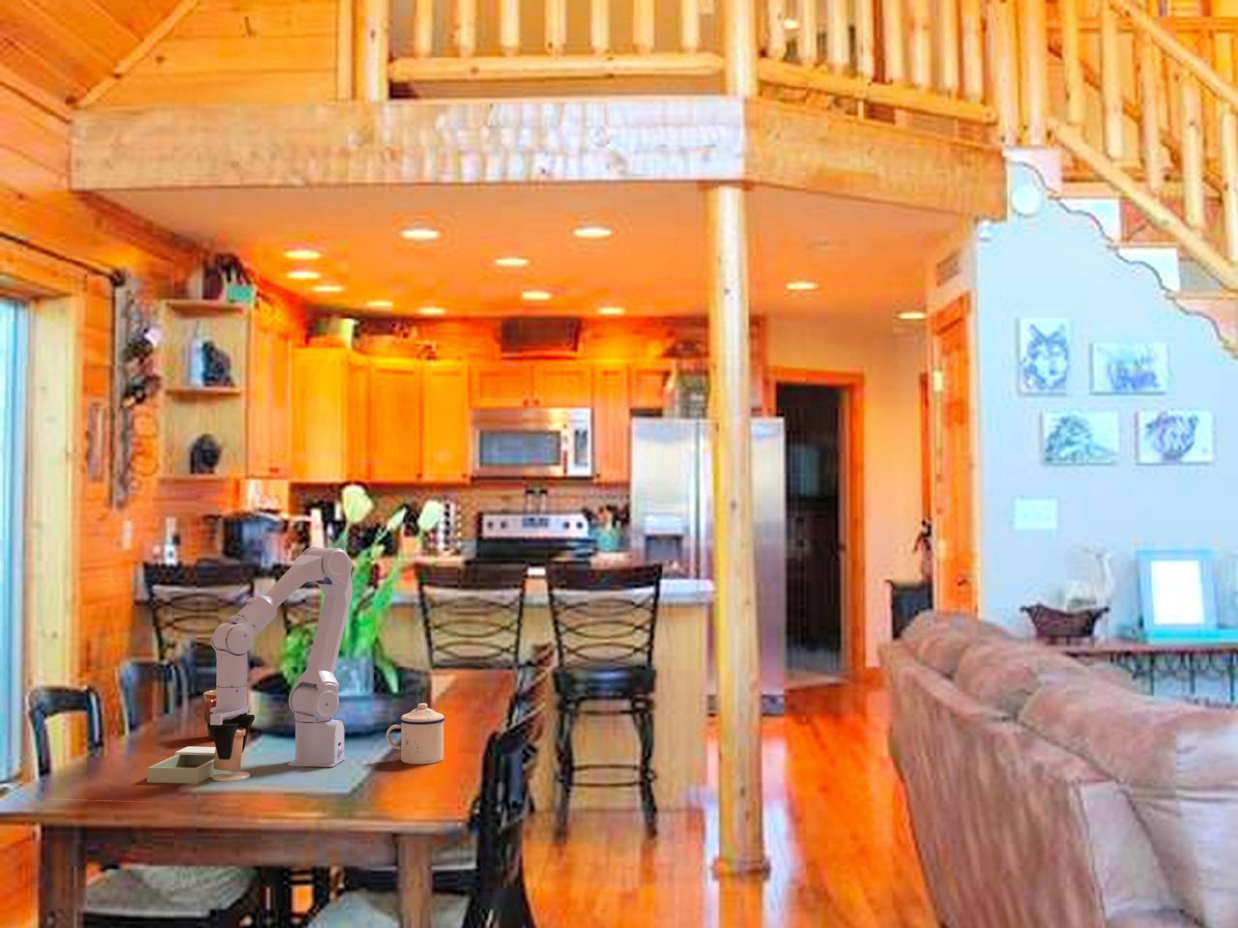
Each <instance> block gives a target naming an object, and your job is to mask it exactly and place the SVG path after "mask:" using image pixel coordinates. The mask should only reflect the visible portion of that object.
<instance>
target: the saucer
mask: <svg viewBox="0 0 1238 928" xmlns="http://www.w3.org/2000/svg"><path fill="white" fill-rule="evenodd" d="M250 776H251V774H250V772H248V771H242V770H234V771H221V772H219V773H217V774H214V775H213V776H211V779H212V780H213V781H217V782H219V781H220V782H235V781H241V780H247V779H248V778H250Z"/></svg>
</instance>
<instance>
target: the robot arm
mask: <svg viewBox="0 0 1238 928" xmlns="http://www.w3.org/2000/svg"><path fill="white" fill-rule="evenodd" d="M353 565H354V563H353V560H352V559H351V557H350V556H349V555H348V553H347V551H345V550H344V549H342V548H340V547H336V548H327V547H326V548H325V547H316V546H312V547H311V546H310V547H308V548H306V549H305V550H303V552H302V553H301V554H299V556H296V558H295V560H294V562H293V564H292V565H291V566H290V568H289V569H288V570H286V572H285V573H284V574H283V575H282V576H281V577H280V578H279V579H278V580H277V581H276V582H275V584H274V585H272V586H271V588H270V589H269V590H268V591H267V592H266V593H265V595H255V596H254V597H249V598H248V599H247V600H246V605H245V606H243V607H242V608H241V610H239V611H238V612H237V613H236V614H235V615H234V614H233V615H231V616H230V617H229V622H226V623H222V624H219V626H217V628H216V629H215V630H214V631H213V634H212V637H211V638H210V644H211V646H212V648H213V649H214V651H215V659H216V678H215V679H216V682H215V683H216V684H215V685H216V688H215V690H216V707H213V708H211V709H210V712H214V713H213V714H211V715H210V722H209V723H207V728H208V729H209V731H210V733H211V735H212V737H213V739H214V740H213V739H212V740H213V743H214V747H216V750H217V754H218V758H219V759H222V760H229V759H230V758H231V754H232V747H233V740H234V736H235V733H236V730H237V728H238V727H242V728H245V729H246V732H245V736H243V746H242V754H243V753H244V751H245V748H246V743H247V739H248V736H249V735H248V734H249V732H250V729H251V727H252V724H253V723H254V722H255V718H256V715H255V714H250V713H252V708H253V707H252V701H248V651H251V650H252V648H253V647H254V643H255V640H256V637H257V636H258V635H259V634H260V633H261V632H262V631H263V629H265V628H266V627H267V626H268V624H270V623H271V622H272V621H273V620H274V619H275V618H276V617H277V616H278V607H279V606H281V605H282V603H284V602H285V601H286V600H287V599H288V598H289V597H291V596H292V595H293V594H294V593H295V592H296V591H297V590H299V589H300V588H302V586H303V585H304V584H306V583H310V582H313V583H315V584H316V585H317V586H318V588H319V589H320V591H321V592H322V593H323V595H324V597H323V602H322V605H321V608H320V609H321V610H320V613H319V618H318V622H317V626H316V629H315V630H316V631H315V635H314V637H313V643H312V646H311V651H310V655H309V659H308V663H307V668H306V670H304V672H303V673H302V674H300V675H299V676H298V677H297V680H296V684H295V686H294V688H293V689H292V691H291V692H290V694H289V697H288V705H289V708H290V710H291V711H292V713H293V714H294V719H295V735H294V736H295V737H294V738H295V743H294V744H295V745H294V746H295V754H294V755H295V758H294V760H292V761H290V762H288V763H287V766H291V767H316V768H317V767H326V768H327V767H329V768H333V767H335V766H337V765H338V764H339V763H341V762H342V761H344V760H346V757H345V725H344V723H343V720H339V719H337V720H336V719H334V716H335V714H337V711H338V709H339V705H340V699H339V689H340V684H339V682H338V680H337V679H336V677H335V675H334V673H335V669H336V666H337V661H338V657H339V652H340V648H341V644H342V640H343V634H344V631H345V627H346V622H347V618H348V614H349V611H350V606H351V601H352V597H353V593H354V592H353V590H354V589H353V580H352V575H351V574H352V570H353Z"/></svg>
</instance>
